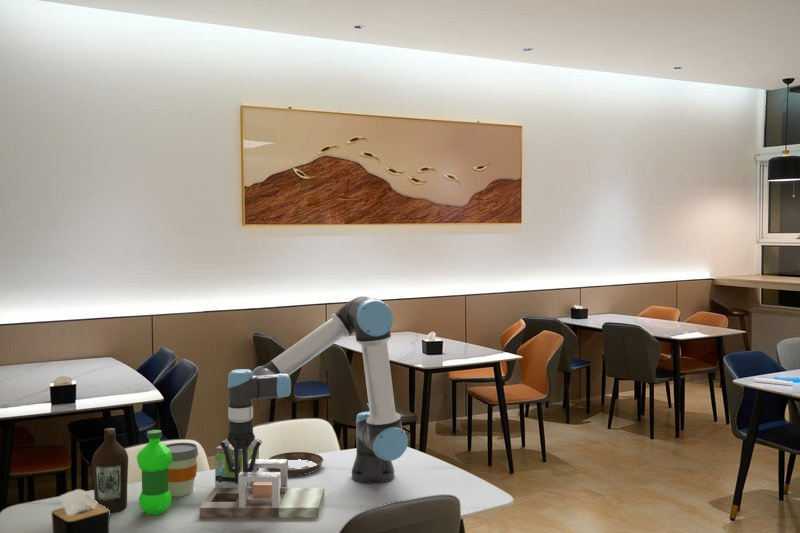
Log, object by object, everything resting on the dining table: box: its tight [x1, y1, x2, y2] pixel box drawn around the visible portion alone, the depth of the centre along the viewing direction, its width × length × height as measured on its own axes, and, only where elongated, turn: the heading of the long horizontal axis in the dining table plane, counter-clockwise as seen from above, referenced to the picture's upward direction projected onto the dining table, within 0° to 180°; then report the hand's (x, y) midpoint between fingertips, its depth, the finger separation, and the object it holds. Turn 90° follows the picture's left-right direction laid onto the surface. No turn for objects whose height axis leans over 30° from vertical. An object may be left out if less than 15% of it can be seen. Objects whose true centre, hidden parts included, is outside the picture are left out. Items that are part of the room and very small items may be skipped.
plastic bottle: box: [136, 429, 173, 516], centre depth 234 cm, size 10×10×25 cm
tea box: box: [214, 438, 260, 488], centre depth 259 cm, size 15×10×15 cm, turn 168°
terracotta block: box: [253, 482, 272, 498], centre depth 238 cm, size 6×6×5 cm
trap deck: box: [199, 487, 325, 519], centre depth 238 cm, size 36×18×3 cm, turn 90°
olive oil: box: [91, 427, 129, 514], centre depth 237 cm, size 11×11×25 cm
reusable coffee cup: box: [164, 442, 199, 497], centre depth 252 cm, size 13×12×15 cm
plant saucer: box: [268, 451, 324, 476], centre depth 278 cm, size 21×21×3 cm
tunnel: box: [239, 458, 289, 508], centre depth 238 cm, size 12×18×10 cm, turn 0°
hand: (241, 493), depth 238 cm, fingers closed
